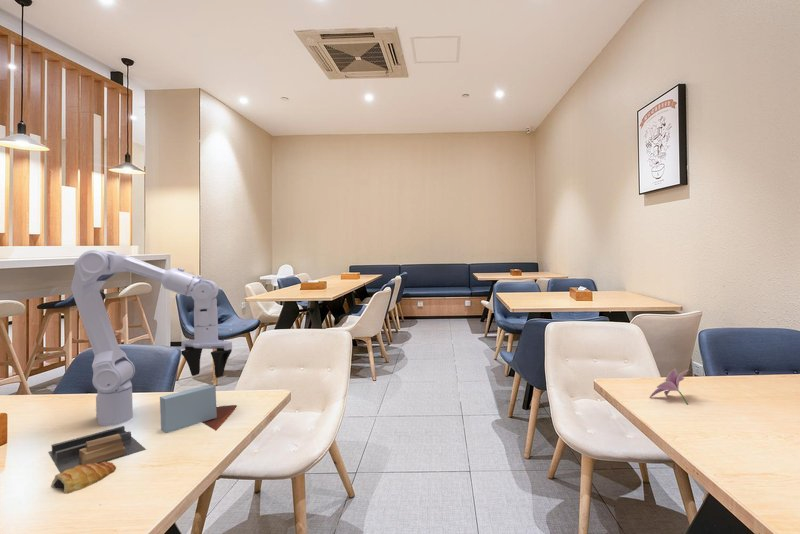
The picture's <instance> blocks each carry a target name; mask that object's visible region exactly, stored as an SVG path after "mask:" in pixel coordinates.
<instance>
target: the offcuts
mask: <svg viewBox="0 0 800 534" xmlns="http://www.w3.org/2000/svg"><path fill="white" fill-rule="evenodd" d="M124 454H126V450H125V447H124V446H123V442H122V438H121V436H120V435H119V434H115V435H111V436H107V437H103V438H99V439H95V440H91V441H87V442H86V448H83V449H80V450H79V461H80V462H81V464H82V465H87V464H91V463H98V462H101V461H104V460H108V459H111V458H114V457H117V456H120V455H124Z"/></svg>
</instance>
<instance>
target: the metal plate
mask: <svg viewBox="0 0 800 534" xmlns="http://www.w3.org/2000/svg"><path fill="white" fill-rule="evenodd" d="M125 428H126V427H125V426H124V425H121V426H118V427H115V428H110V429H105V430H103V431H99V432H96V433H91V434H87V435H84V436H80V437H76V438H73V439H69V440H65V441H61V442H58V443H53V444H51V451H48V454H49V456H50V459H51V460H52V461H53V464H54V465H55V467H56V468H57V470H58V472H59V474H60V473H63V472H64V471H65V470H67V469H73V468H75V467H76V466H79V465H82V464H81V462H80V461H79V450H80V449H83V448H86V442H87V441H91V440H95V439H99V438H103V437H107V436H111V435H115V434H119V435H120V436H121V438H122V442H123V446H124V447H125V450H126V454H124V455H120V456H117V457H114V458H111V459H108V460H104V461H101V462H98V463H97V464H99V463H102V462H111V461H114V460H118V459H120V458H124V457H127V456H130V455H133V454H137V453H140V452H143V451H146V450H147V449H146V448H145V447H144V446H143V445H142V444H140V442H139V441H137V439H135V438H134V437H133V436H132V431H130V430H128V431H126V429H125Z"/></svg>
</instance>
